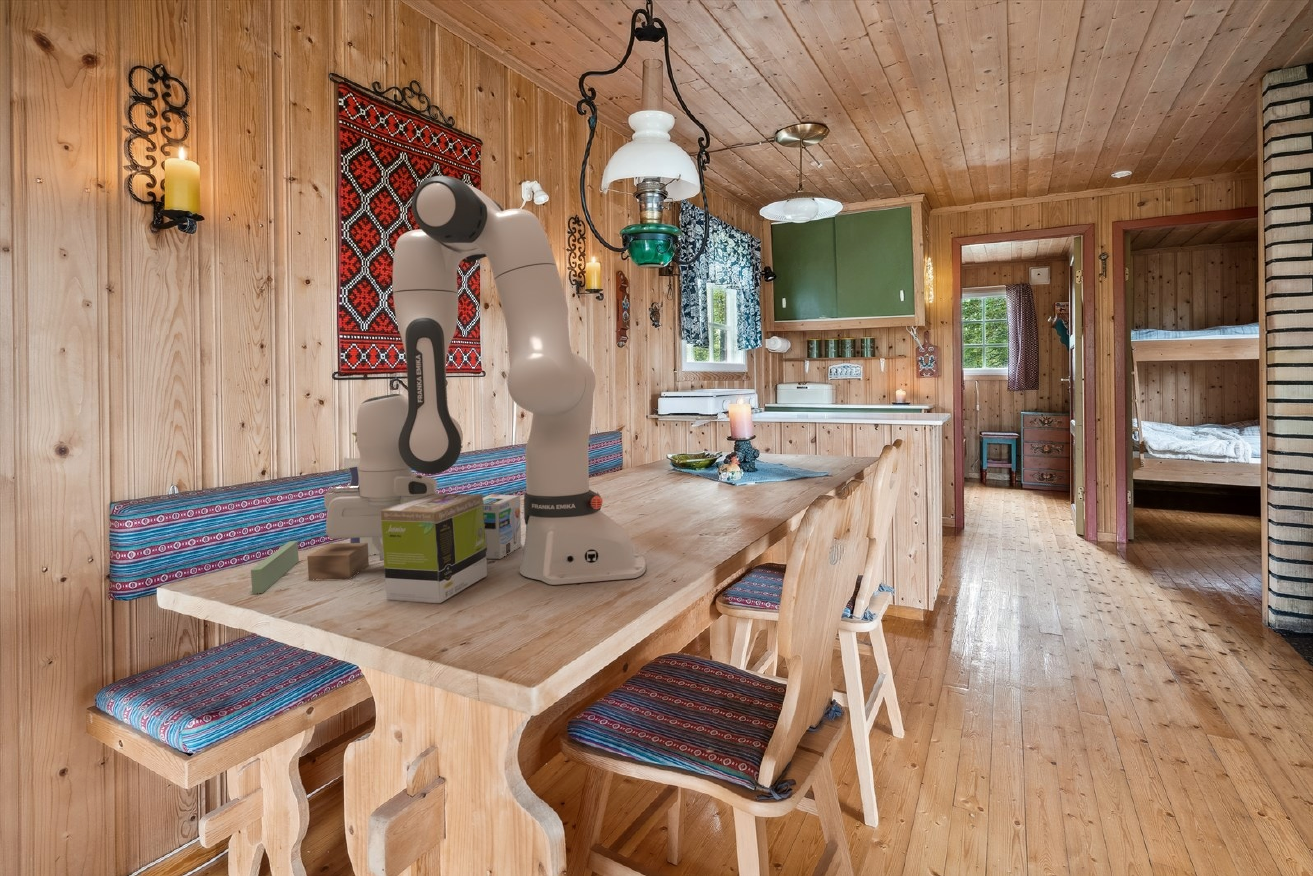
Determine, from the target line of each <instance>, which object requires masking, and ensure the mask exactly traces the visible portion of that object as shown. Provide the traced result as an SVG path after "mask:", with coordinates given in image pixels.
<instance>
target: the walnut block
mask: <svg viewBox="0 0 1313 876" xmlns="http://www.w3.org/2000/svg"><path fill="white" fill-rule="evenodd" d="M369 561H370V560H369V556H368V543H350V542H349V543H346V542H345V543H344V542H343V543H340V542H339V543H328V544H326V545H325V546H323V547H321V548H320V549H318V550H316V551H314V552H312V553H311V554H309V555H307V573H308V581H317V580H316V579H323V580H322V581H325V580H324V579H342V580H351V579H352V578H354V577H355V576H356V575H358V574H359V573H361V572H362V571H363V570H364V569H366V568H367V567H368V566H370V562H369ZM366 566H367V567H366ZM363 568H364V569H363ZM362 569H363V570H362ZM361 570H362V571H361ZM358 572H359V573H358ZM357 573H358V574H357ZM354 575H355V576H354ZM353 576H354V577H353ZM351 577H352V578H351ZM350 578H351V579H350ZM313 579H314V580H313Z"/></svg>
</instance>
